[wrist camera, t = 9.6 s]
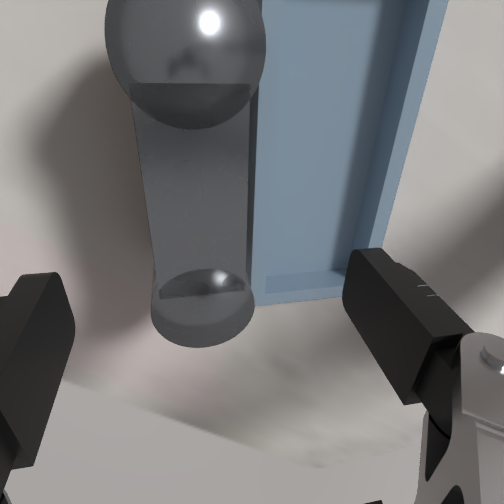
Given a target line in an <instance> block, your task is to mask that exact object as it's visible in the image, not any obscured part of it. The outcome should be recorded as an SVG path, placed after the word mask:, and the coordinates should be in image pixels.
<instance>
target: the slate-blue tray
mask: <svg viewBox="0 0 504 504" xmlns="http://www.w3.org/2000/svg"><path fill="white" fill-rule="evenodd" d="M256 1H257V3H258V6H259V8H260V11H261V14H262V18H263V22H264V27H265V34H266V57H265V64H264V69H263V73H262V76H261V79H260V82H259V84H258V86H257V89H256V91H255V93H254V94H253V96H252V97H251V99H250V123H249V163H248V202H247V242H246V274H247V277H248V280H249V283H250V286H251V289H252V292H253V296H254V300H255V306H262V305H271V304H280V303H289V302H298V301H307V300H316V299H325V298H334V297H342V290H343V286H344V281H345V276H346V272H347V267H348V262H349V258H350V254H351V252H352V251H353V250H354V249H365V248H377V247H379V248H381V247H382V244H383V240H384V236H385V233H386V229H387V225H388V222H389V218H390V214H391V211H392V207H393V203H394V200H395V196H396V192H397V189H398V185H399V181H400V177H401V174H402V170H403V166H404V163H405V159H406V155H407V152H408V148H409V144H410V141H411V137H412V133H413V130H414V126H415V122H416V119H417V115H418V111H419V107H420V104H421V100H422V96H423V93H424V89H425V85H426V82H427V78H428V74H429V71H430V67H431V63H432V60H433V56H434V52H435V49H436V45H437V41H438V38H439V34H440V30H441V26H442V23H443V19H444V15H445V12H446V8H447V4H448V1H449V0H256Z"/></svg>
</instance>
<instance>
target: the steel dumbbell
mask: <svg viewBox="0 0 504 504" xmlns="http://www.w3.org/2000/svg"><path fill="white" fill-rule="evenodd" d="M105 41H106V48H107V53H108V57H109V60H110V63H111V66H112V69H113V71H114V74H115V76H116V78H117V80H118V82H119V83H120V85H121V87H122V88H123V90H124V91H125V93H126V94H127V95H128V96H129V98H130V99H131V104H132V110H133V117H134V124H135V131H136V138H137V145H138V152H139V159H140V166H141V173H142V180H143V187H144V194H145V201H146V208H147V215H148V222H149V228H150V235H151V242H152V249H153V256H154V268H153V284H152V301H151V318H152V322H153V324H154V326H155V328H156V330H157V331H158V332H159V333H160V334H161V335H162V336H163V337H164V338H165V339H167V340H169V341H170V342H173V343H175V344H177V345H181V346H185V347H192V348H203V347H210V346H215V345H218V344H221V343H224V342H226V341H228V340H230V339H232V338H233V337H235V336H236V335H238V334H239V333H240V332H241V331H242V330H243V329H244V328H245V327H246V326H247V325H248V323H249V322H250V320H251V318H252V316H253V312H254V307H255V300H254V296H253V292H252V289H251V286H250V283H249V280H248V277H247V274H246V242H247V202H248V163H249V123H250V99H251V97H252V96H253V94H254V93H255V91H256V89H257V86H258V84H259V82H260V79H261V76H262V73H263V69H264V64H265V57H266V34H265V27H264V22H263V18H262V14H261V11H260V8H259V6H258V3H257V1H256V0H109V1H108V4H107V8H106V15H105Z"/></svg>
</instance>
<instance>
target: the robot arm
mask: <svg viewBox="0 0 504 504" xmlns="http://www.w3.org/2000/svg"><path fill="white" fill-rule="evenodd" d="M342 300H343V305H344V308H345V311H346V312H347V314H348V316H349V317H350V319H351V321H352V322H353V324H354V325H355V327H356V329H357V330H358V332H359V333H360V335H361V337H362V338H363V340H364V342H365V343H366V345H367V346H368V348H369V350H370V351H371V353H372V354H373V356H374V358H375V359H376V361H377V363H378V364H379V366H380V367H381V369H382V371H383V372H384V374H385V376H386V377H387V379H388V380H389V382H390V384H391V385H392V387H393V388H394V390H395V392H396V393H397V395H398V397H399V398H400V400H401V401H402V403H403V405H409V404H415V403H421V402H422V403H423V405H424V406H425V408H426V409H427V410H426V412H425V414H424V418H423V428H422V441H421V453H420V466H419V480H418V489H417V495H416V499H415V502H414V504H504V339H503V338H501V337H498V336H495V335H492V334H488V333H481V332H474V331H473V330H472V329H471V328H470V327H469V326H468V325H467V324H466V323H465V322H464V321H463V320H462V319H461V318H460V317H459V316H458V315H457V314H456V313H455V312H454V311H453V310H452V309H451V308H450V307H449V306H448V305H447V304H446V303H445V302H444V301H443V300H442V299H441V298H440V297H439V296H436V293H435V292H434V291H433V290H432V289H431V288H430V287H429V286H426V283H425V282H424V281H423V280H422V279H421V278H420V277H419V276H418V275H417V274H416V273H415V272H413V271H412V270H410V269H408V268H407V267H405V266H403V265H401V264H400V263H395V262H394V261H393V260H392V259H391V258H390V256H389V255H388V254H387V253H386V252H385V251H384V250H383V249H381V248H379V247H377V248H365V249H354V250H353V251H352V252H351V254H350V258H349V262H348V267H347V272H346V276H345V281H344V286H343V290H342ZM74 337H75V321H74V316H73V313H72V310H71V307H70V304H69V301H68V298H67V295H66V292H65V289H64V286H63V283H62V280H61V277H60V275H59V274H58V273H56V272H50V273H38V274H25V275H22V276H20V277H19V279H18V280H17V282H16V284H15V285H14V287H13V288H12V290H11V291H10V293H9V295H8V296H3V297H0V504H12V503H11V501H10V499H9V497H8V495H7V493H6V491H5V490H4V487H5V485H6V482H7V479H8V477H9V474H10V471H11V470H12V469H19V468H25V467H31V466H33V465H34V462H35V459H36V456H37V452H38V450H39V447H40V444H41V440H42V437H43V434H44V431H45V428H46V425H47V422H48V419H49V416H50V413H51V410H52V407H53V403H54V400H55V397H56V394H57V391H58V388H59V385H60V382H61V379H62V376H63V373H64V370H65V366H66V363H67V360H68V357H69V354H70V351H71V348H72V345H73V342H74ZM366 504H383V503H382V501H381V500H379V501H374V502H370V503H366Z"/></svg>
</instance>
